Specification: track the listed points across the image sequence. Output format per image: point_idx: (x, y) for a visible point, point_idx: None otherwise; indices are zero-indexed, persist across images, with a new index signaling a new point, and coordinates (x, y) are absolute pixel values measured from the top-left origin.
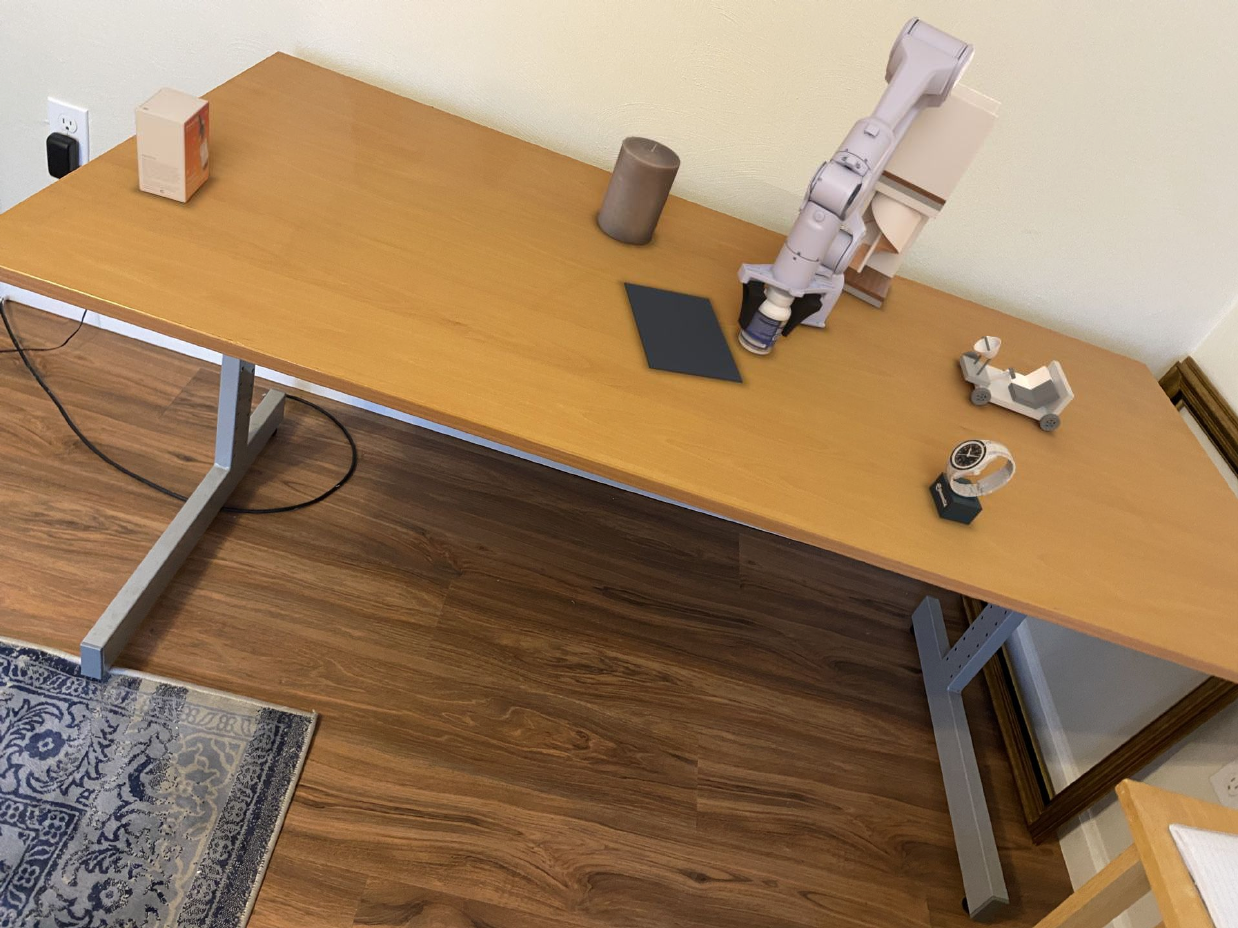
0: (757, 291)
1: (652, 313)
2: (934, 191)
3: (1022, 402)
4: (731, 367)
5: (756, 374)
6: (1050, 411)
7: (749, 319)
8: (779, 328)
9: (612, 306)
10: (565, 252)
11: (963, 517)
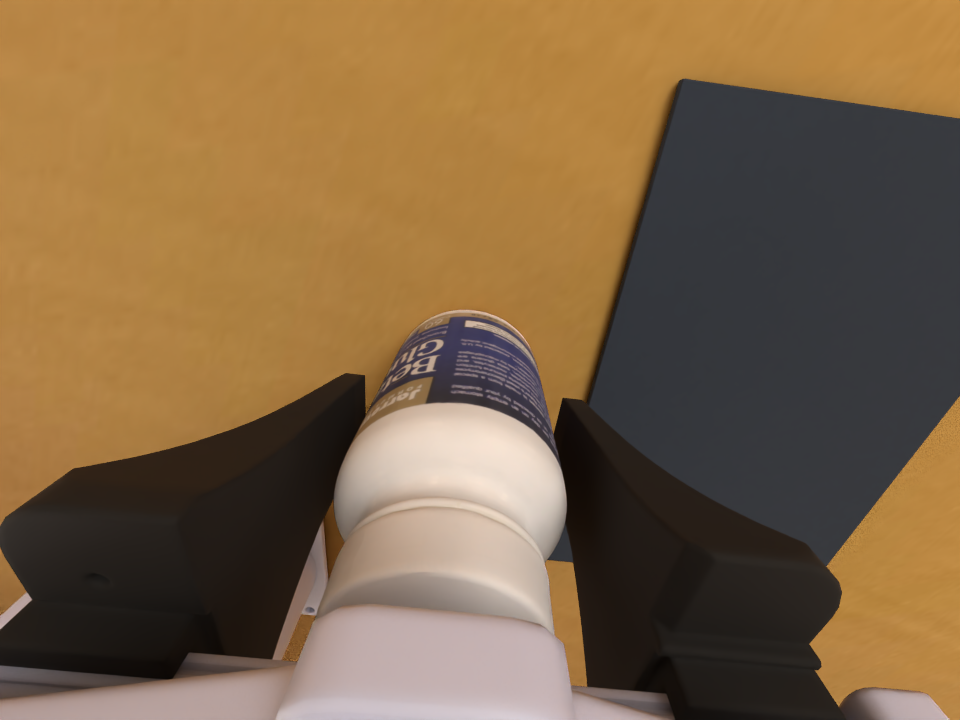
0: (755, 615)
1: (826, 475)
2: None
3: None
4: (682, 193)
5: (550, 169)
6: None
7: (597, 426)
8: (425, 374)
9: (941, 491)
10: (894, 655)
11: None
